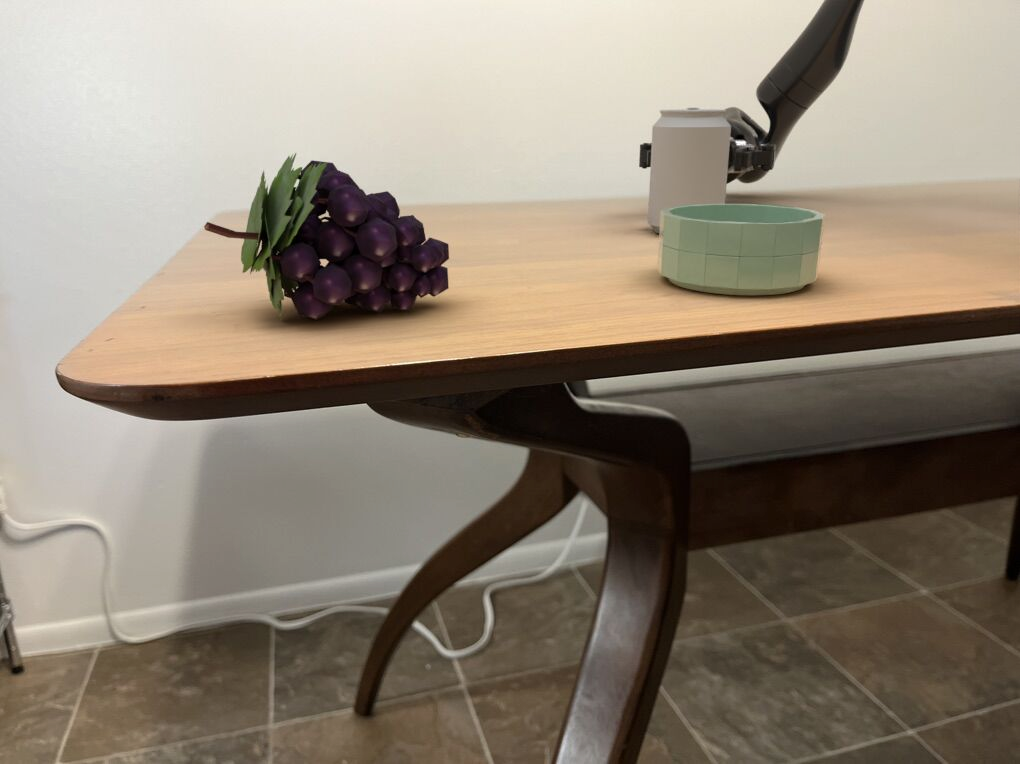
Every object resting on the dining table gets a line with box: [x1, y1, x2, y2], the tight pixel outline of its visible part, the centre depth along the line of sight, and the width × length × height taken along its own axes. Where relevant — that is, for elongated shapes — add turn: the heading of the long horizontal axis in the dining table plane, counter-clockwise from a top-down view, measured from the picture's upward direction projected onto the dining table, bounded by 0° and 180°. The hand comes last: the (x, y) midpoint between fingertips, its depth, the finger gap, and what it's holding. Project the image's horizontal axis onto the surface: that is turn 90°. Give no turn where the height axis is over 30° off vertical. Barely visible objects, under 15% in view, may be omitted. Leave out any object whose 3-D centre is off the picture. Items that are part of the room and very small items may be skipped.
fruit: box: [203, 152, 450, 321], centre depth 51 cm, size 10×11×15 cm
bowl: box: [657, 202, 826, 297], centre depth 59 cm, size 11×11×5 cm
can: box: [647, 107, 731, 234], centre depth 81 cm, size 8×8×12 cm
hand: (695, 159), depth 83 cm, fingers open, 8 cm apart
